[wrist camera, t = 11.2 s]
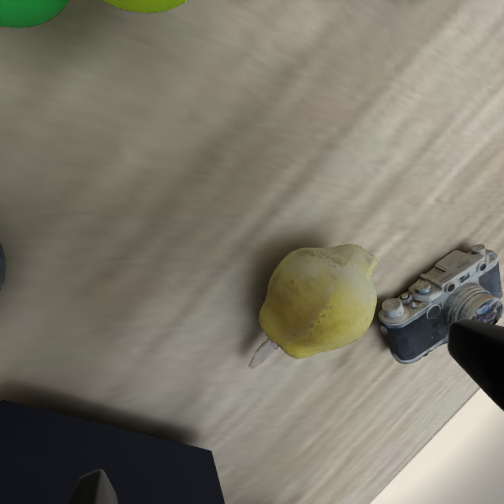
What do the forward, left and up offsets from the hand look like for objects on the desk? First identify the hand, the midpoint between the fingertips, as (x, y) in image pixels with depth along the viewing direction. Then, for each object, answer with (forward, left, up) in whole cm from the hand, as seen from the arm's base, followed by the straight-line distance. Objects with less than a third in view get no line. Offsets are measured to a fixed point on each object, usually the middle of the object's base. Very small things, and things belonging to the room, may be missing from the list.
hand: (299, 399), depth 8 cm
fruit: (-5, -5, -12) cm, 14 cm away
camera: (-9, -16, -12) cm, 22 cm away
